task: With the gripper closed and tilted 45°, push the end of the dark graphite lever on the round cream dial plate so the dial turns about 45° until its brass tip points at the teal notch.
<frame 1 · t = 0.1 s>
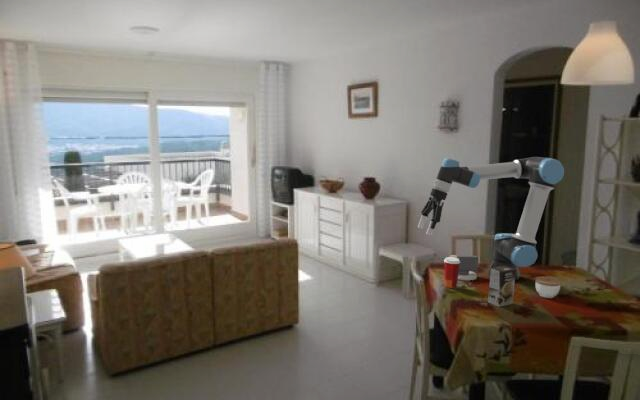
hand: (424, 231, 217), 28 cm above the table, tool tilted 20°, fingers open, 13 cm apart
white bowl: (546, 296, 212), on the table
coffee box: (500, 303, 202), on the table
paper cup: (450, 286, 223), on the table
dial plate: (462, 276, 238), on the table
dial: (463, 264, 237), point 6 cm above the table, hinge at 0.0°
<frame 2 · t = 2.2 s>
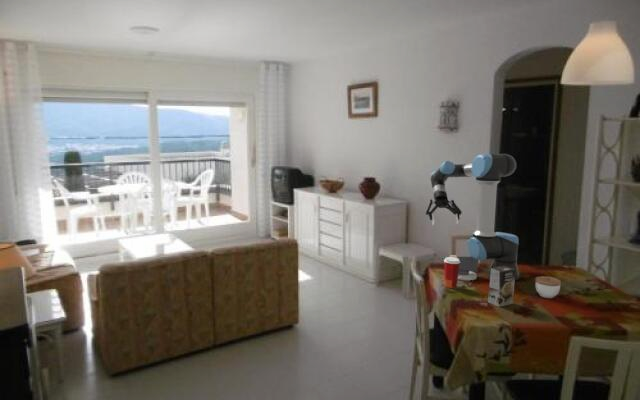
hand: (445, 224, 254), 24 cm above the table, tool tilted 45°, fingers open, 13 cm apart
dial: (463, 264, 237), point 6 cm above the table, hinge at 0.2°, touching arm
everything else where it was.
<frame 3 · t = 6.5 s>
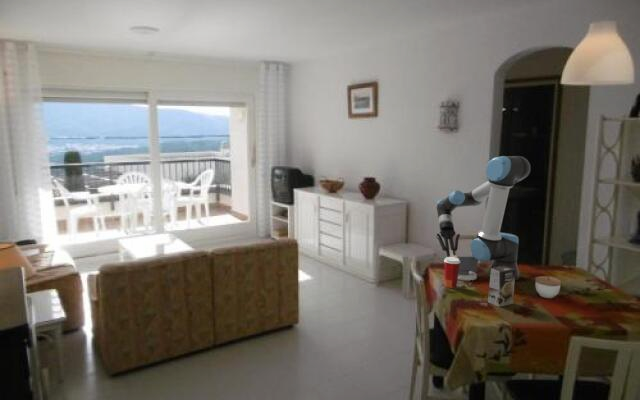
hand: (452, 261, 239), 7 cm above the table, tool tilted 45°, fingers closed
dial: (463, 264, 237), point 6 cm above the table, hinge at 5.6°, touching gripper
everything else where it was.
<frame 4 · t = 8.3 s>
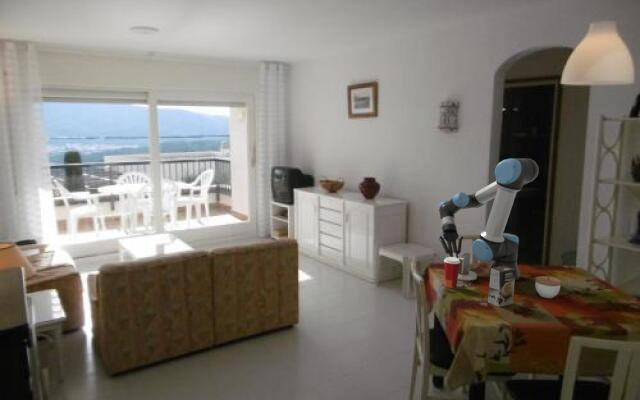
hand: (455, 265, 234), 7 cm above the table, tool tilted 45°, fingers closed
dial: (463, 264, 237), point 6 cm above the table, hinge at 56.8°, touching gripper
everything else where it was.
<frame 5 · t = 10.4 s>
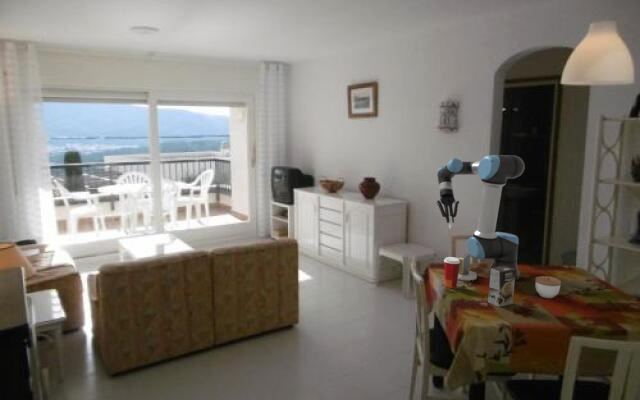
hand: (451, 227, 251), 22 cm above the table, tool tilted 40°, fingers closed
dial: (463, 264, 237), point 6 cm above the table, hinge at 56.8°
everything else where it was.
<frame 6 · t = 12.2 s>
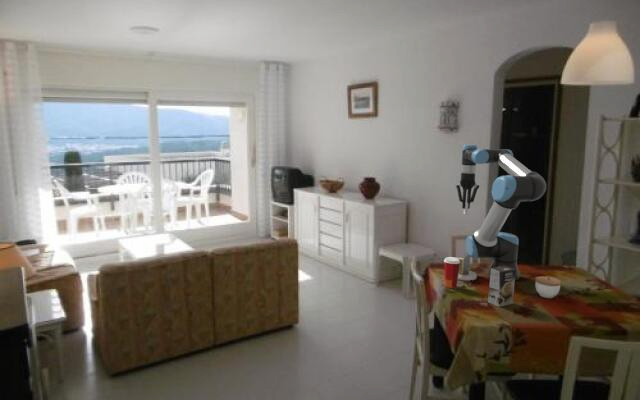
hand: (465, 214, 254), 29 cm above the table, tool pointing down, fingers closed
nothing on the table moved.
at the end: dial at +57° (first picture: +0°); paper cup moved 0.2 cm from its start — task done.
